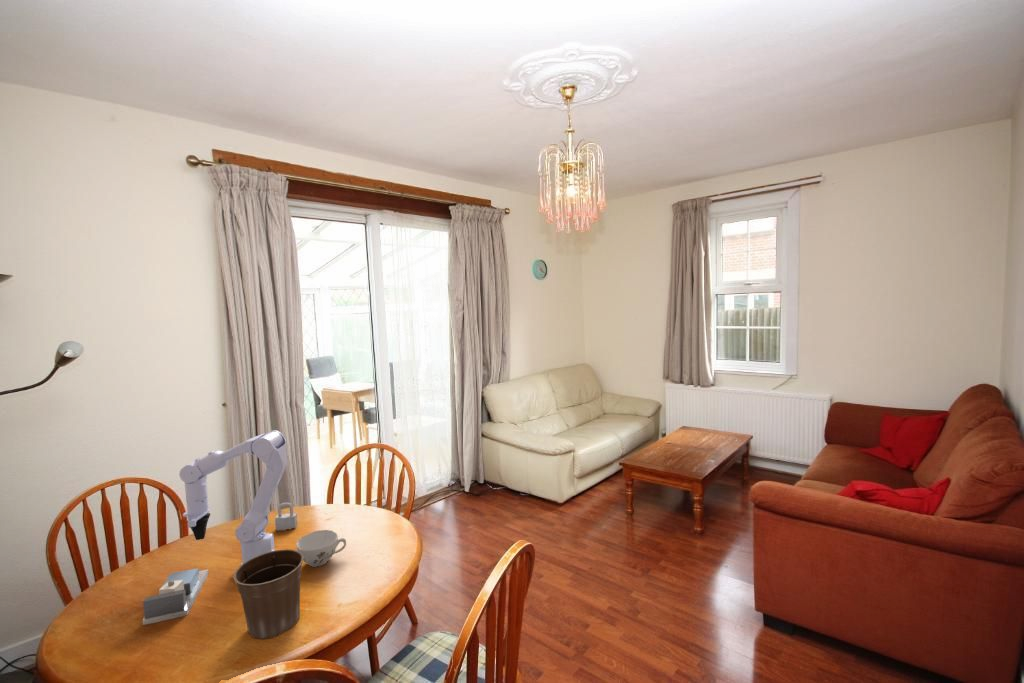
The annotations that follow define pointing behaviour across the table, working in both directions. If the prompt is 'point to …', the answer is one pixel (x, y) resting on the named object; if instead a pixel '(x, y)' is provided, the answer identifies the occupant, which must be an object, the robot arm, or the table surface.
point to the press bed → (188, 598)
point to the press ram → (185, 578)
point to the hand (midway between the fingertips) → (200, 538)
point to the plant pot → (270, 591)
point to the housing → (172, 586)
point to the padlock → (286, 518)
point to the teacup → (319, 547)
